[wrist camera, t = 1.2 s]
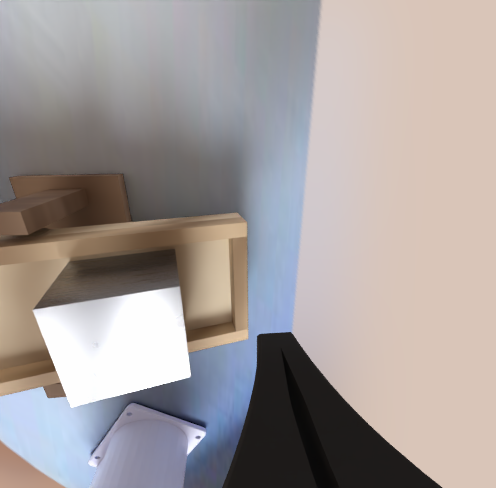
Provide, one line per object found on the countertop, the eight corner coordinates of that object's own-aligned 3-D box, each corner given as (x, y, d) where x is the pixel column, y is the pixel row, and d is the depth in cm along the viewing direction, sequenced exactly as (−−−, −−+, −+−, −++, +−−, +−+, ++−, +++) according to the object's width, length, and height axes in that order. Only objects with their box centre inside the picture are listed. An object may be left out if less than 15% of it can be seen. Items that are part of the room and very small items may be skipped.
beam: (235, 210, 16) (247, 222, 13) (238, 315, 19) (248, 338, 16) (-269, 254, 10) (-386, 286, 8) (-150, 394, 13) (-212, 444, 11)
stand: (122, 173, 16) (67, 193, 10) (152, 329, 20) (124, 401, 15) (19, 175, 15) (-97, 196, 10) (73, 334, 20) (14, 409, 14)
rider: (175, 248, 14) (179, 286, 10) (184, 323, 16) (191, 376, 12) (68, 261, 13) (32, 309, 9) (93, 341, 14) (71, 407, 11)
